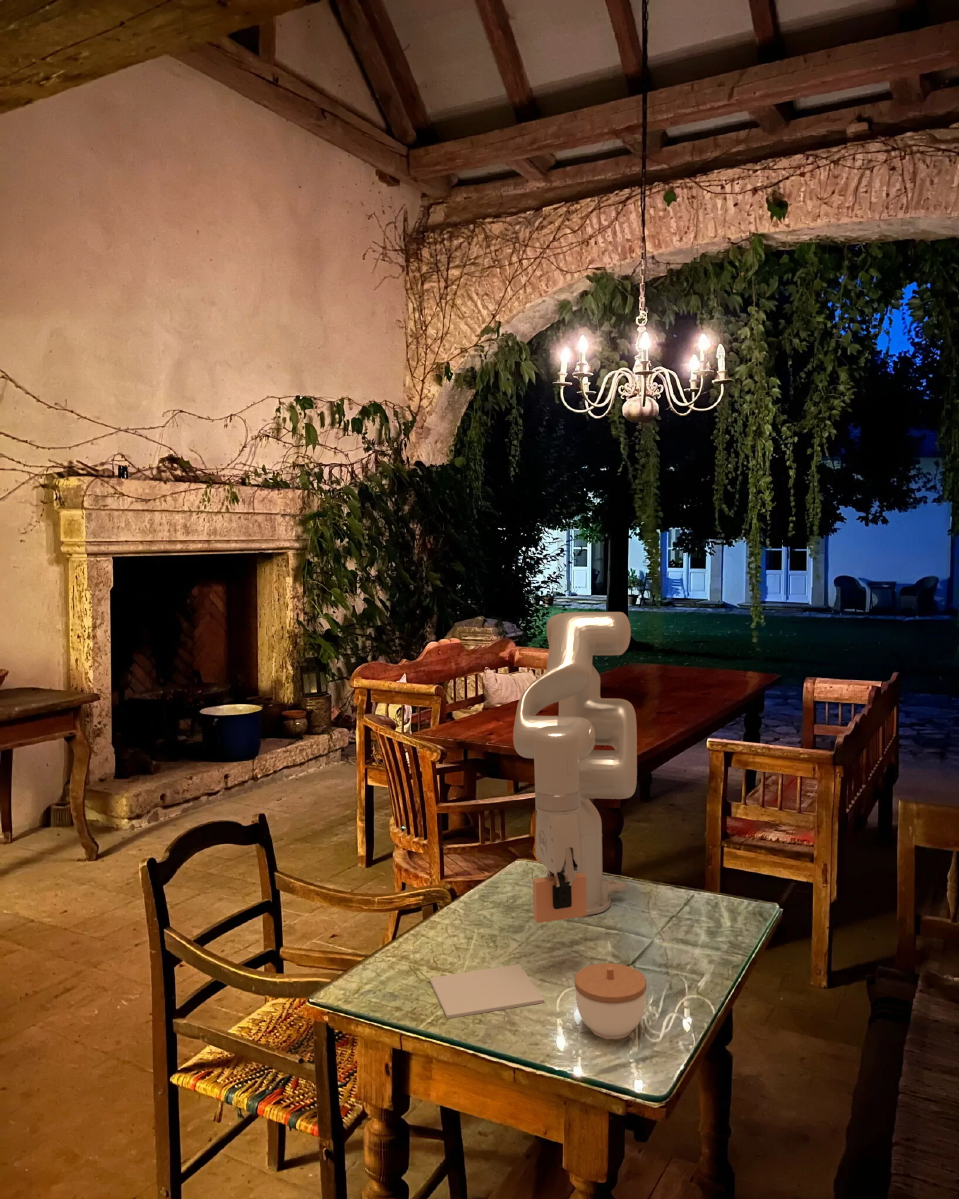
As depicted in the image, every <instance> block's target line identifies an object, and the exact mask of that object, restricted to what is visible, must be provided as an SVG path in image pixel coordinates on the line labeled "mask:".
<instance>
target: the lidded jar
mask: <svg viewBox="0 0 959 1199" xmlns="http://www.w3.org/2000/svg"><path fill="white" fill-rule="evenodd" d="M574 987H575V988H574V989H575V999H576V1000H575V1001H576V1005H577V1010H578V1013H579V1015H580V1017H581V1019H582V1021H583V1023H584V1024H585V1025H586V1026H587V1027H588V1028H589V1029H590V1030H591V1032H592V1033H593V1035H595V1036H597V1037H599V1038H601V1039H605V1040H621V1039H624V1038H627V1037H628V1036H629V1035H630V1034H631V1033H632V1031H634V1029H636V1028H637V1027H638V1025H639V1024H640V1022H641V1021H642V1018H643V1016H644V1012H645V1009H646V1001H647V1000H646V999H647V998H646V997H647V996H646V995H647V994H646V990H647V979H646V977H645V976H644V975H643V973H641V972H640V971H639V970H638V969H636V968H633V967H631V966H627V965H626V964H625V965H624V964H620V963H609V962H607V963H597V964H596V963H595V964H590V965H588V966H585V967H583V968H580V970H578V972H577V973H576V974H575V976H574Z"/></svg>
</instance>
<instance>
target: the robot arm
mask: <svg viewBox="0 0 959 1199" xmlns="http://www.w3.org/2000/svg"><path fill="white" fill-rule="evenodd" d="M631 635H632V632H631V623H630V620H629V618H628V616H627V615H626V614H625V613H624V612H622V611H572V612H571V611H569V612H560V613H557V614H555V615H552V616H551V617H550V618H549V619H548V621H547V623H546V638H547V642H548V655H547V662H546V664H547V665H546V671H545V672H543V673H542V674H541V675H539V676H538V677H536V679H534V680H533V681H532V682H531V684H530V685H528V686H527V687H526V688H525V689H524V691H523V692H522V694H521V695H520V698H519V700H518V703H517V707H516V712H515V718H514V722H513V723H514V725H513V731H512V732H513V734H512V741H513V742H512V743H513V747H514V750H515V751H516V753H517V754H518V755H519V756H520V757H522V758H525V759H533V762H534V764H533V765H534V769H533V770H534V798H535V799H534V800H535V801H534V802H535V810H536V813H535V814H536V816H535V838H534V839H535V843H534V844H535V852H534V853H535V855H536V858H537V859H538V860H539V861H540V863H541V864H543V866H545V867H546V875H547V876H546V877H551V876H554V884H555V885H553V907H554V909H561V908H568V907H571V906H572V894H571V885H572V881H575V875H574V873H583V874H584V875H585V876H586V900H587V916H591V915H592V916H593V915H596V914H600V913H602V912H605V911H607V910H608V909H609V908H610V907H611V906H612V905H611V904H612V903H611V902H612V901H611V897H610V896H611V895H612V893H623V892H626V890H627V888H626V884H625V882H624V881H618V882H615V880H614V879H608V880H604V879H603V825H602V818H601V814H600V812H599V811H598V809H597V808H596V805H594V804H593V802H592V801H591V800H590V799H602V800H603V799H604V800H605V799H607V800H609V799H611V800H615V799H616V800H623V799H624V800H625V799H629V798H631V797H632V796H633V795H634V794H635V792H636V788H637V780H638V777H637V776H638V752H637V750H638V740H637V739H638V734H637V733H638V730H637V728H638V727H637V726H638V725H637V714H636V711H635V708H634V707H635V706H633V704H632V703H631V702H630V701H628V700H627V699H624V698H611V697H610V698H602V697H601V675H600V673H599V672H598V670H597V669H596V668H595V666H594V665H593V656H621V655H623V654H624V653H625V652H626V651H627V650H628V648H629V645H630V642H631ZM555 703H558V715H537V714H538V713H539V712H540V711H541V710H543V709H545V708H546V707H548V706H550V705H552V704H555ZM595 746H611V747H612V748H614V750H612V749H610V750H609V749H608V750H607V749H604V750H603V749H601V750H600V749H594V748H595Z"/></svg>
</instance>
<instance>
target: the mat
mask: <svg viewBox="0 0 959 1199" xmlns="http://www.w3.org/2000/svg"><path fill="white" fill-rule="evenodd" d="M429 983H430V984H431V987H432V989H433V991H434V994H435V996H436V997H437V1000H438V1002H439V1004H440V1006H441V1008H442V1010H443V1012H444V1015H445V1017H446V1019H453V1018H454V1019H455V1018H460V1017H466V1016H472V1015H477V1014H484V1013H489V1012H496V1011H502V1010H508V1009H515V1008H520V1007H527V1006H532V1005H537V1004H545V999H544V997H543V996H542V994H541V993H540V991H539V990H538V989H537V987H536V986H535V984H534V983H533V982H532V980H531V978H530V977H529V976H528V974H527V973H526V971H525V970H524V969H523V967H522V965H521V964H512V965H507V966H506V965H505V966H500V967H493V968H492V967H491V968H485V969H481V970H480V969H479V970H473V971H472V970H471V971H466V972H460V973H453V974H447V975H439V976H433V977H429Z"/></svg>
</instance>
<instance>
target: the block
mask: <svg viewBox="0 0 959 1199" xmlns="http://www.w3.org/2000/svg"><path fill="white" fill-rule="evenodd" d="M574 875H575V881H572V885H571V894H572V906H571V907H568V908H561V909H554V907H553V885H555V884H554V876H551V877H547V876H544V877H538V878H532V912H533V913H532V915H533V916H532V917H533V920H534V921H535V923H537V924H538V923H540V924H541V923H546V922H552V921H560V920H567V919H568V920H569V919H575V918H581V917H587V916H588V915H587V900H586V876H585V875H584V874H583V873H574Z"/></svg>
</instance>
